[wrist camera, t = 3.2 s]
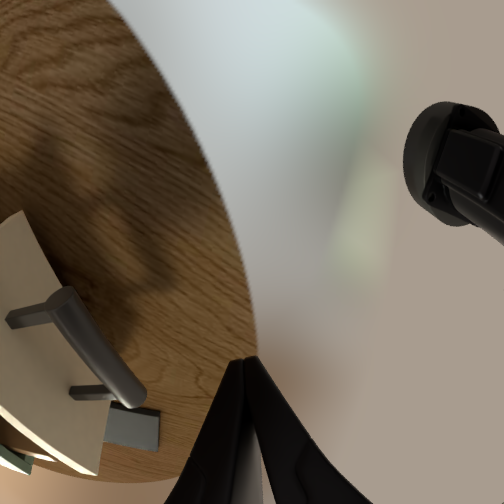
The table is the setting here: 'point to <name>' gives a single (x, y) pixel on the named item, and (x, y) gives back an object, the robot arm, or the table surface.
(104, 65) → the table surface
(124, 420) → the coaster
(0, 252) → the drawer
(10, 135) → the table surface
